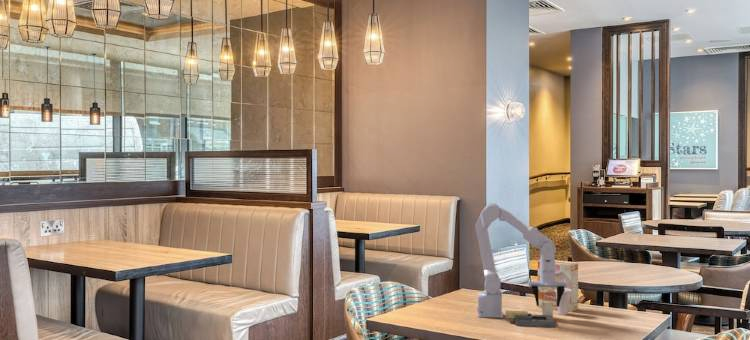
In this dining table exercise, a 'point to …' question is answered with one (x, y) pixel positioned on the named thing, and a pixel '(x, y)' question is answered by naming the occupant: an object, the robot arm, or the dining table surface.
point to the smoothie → (564, 301)
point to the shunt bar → (515, 314)
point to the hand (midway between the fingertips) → (547, 305)
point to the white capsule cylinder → (547, 308)
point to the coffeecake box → (561, 272)
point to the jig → (534, 320)
